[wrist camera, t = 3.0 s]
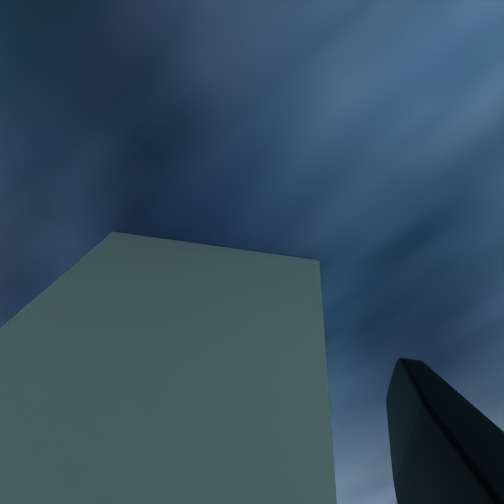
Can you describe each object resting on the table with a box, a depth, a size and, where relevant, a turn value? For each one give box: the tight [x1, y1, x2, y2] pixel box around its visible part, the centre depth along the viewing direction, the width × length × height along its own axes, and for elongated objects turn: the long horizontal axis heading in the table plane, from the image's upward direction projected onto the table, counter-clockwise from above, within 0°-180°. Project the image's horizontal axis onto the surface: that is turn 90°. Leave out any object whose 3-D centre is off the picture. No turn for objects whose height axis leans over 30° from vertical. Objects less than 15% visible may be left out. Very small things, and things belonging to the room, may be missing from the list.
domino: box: [0, 232, 337, 504], centre depth 7 cm, size 2×5×8 cm, turn 84°
